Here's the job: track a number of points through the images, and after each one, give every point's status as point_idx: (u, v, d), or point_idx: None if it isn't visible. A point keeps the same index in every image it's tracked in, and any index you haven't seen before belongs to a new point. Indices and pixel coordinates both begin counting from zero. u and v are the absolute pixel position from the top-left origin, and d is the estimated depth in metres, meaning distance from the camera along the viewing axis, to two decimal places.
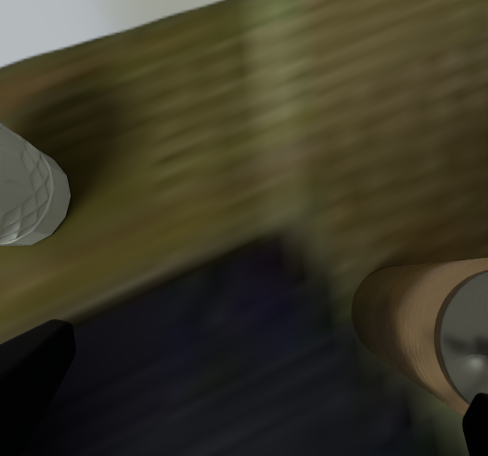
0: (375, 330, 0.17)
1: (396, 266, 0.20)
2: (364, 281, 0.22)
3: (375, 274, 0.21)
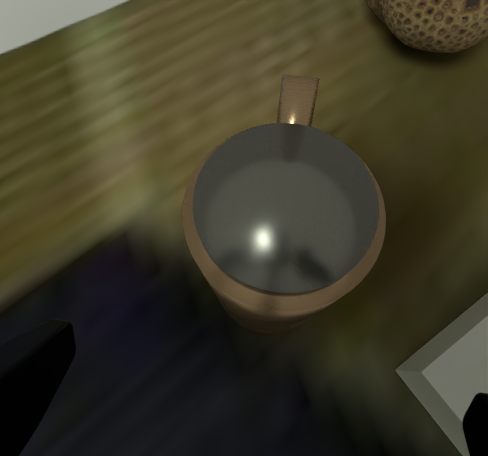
0: None
1: None
2: None
3: None
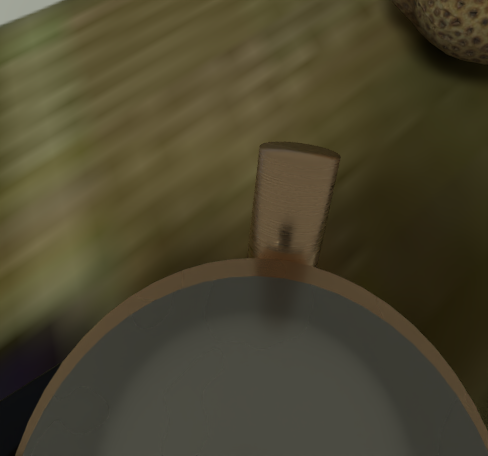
0: None
1: None
2: None
3: None
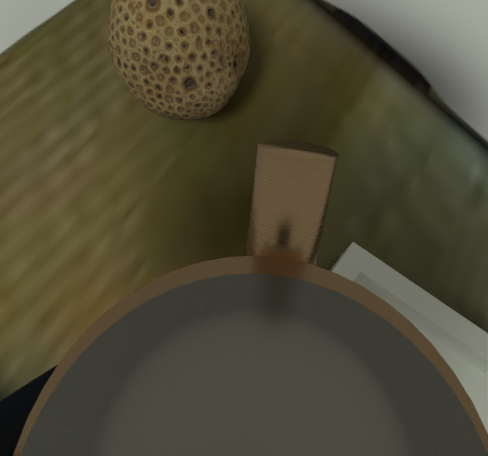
0: None
1: None
2: None
3: None
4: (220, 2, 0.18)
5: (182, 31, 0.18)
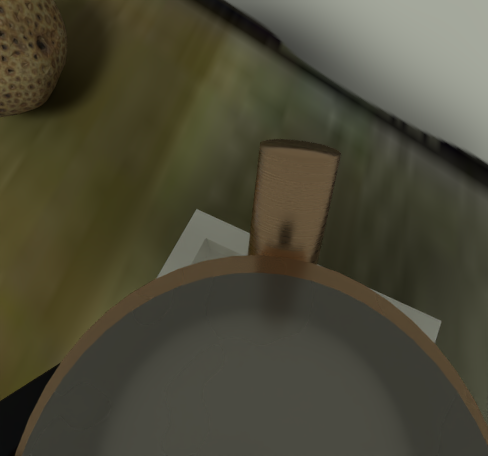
0: None
1: None
2: None
3: None
4: None
5: None
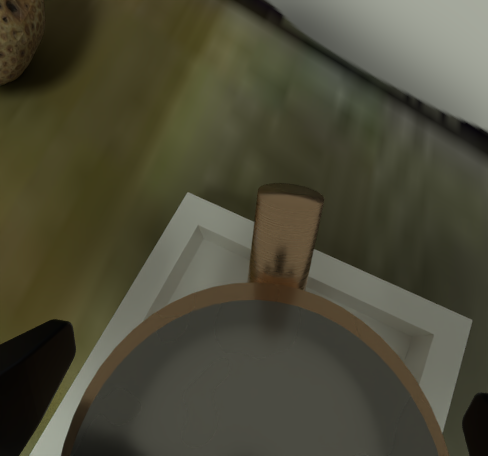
0: None
1: None
2: None
3: None
4: None
5: None
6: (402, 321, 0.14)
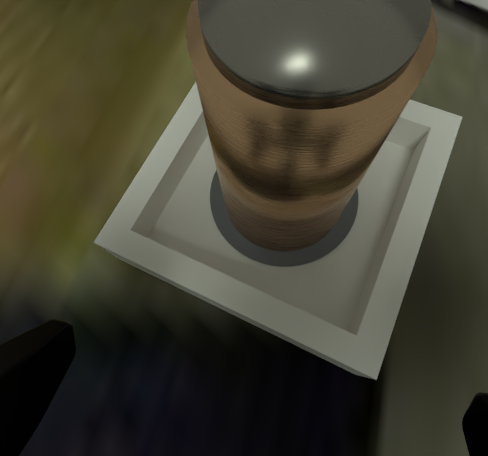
0: (218, 173, 0.13)
1: None
2: None
3: None
4: None
5: None
6: (404, 122, 0.17)
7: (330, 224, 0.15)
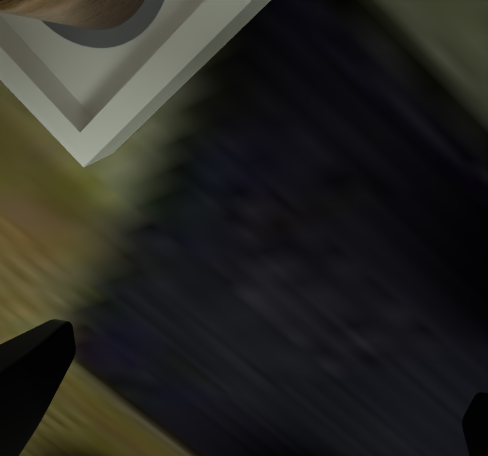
0: (28, 16, 0.12)
1: None
2: None
3: None
4: None
5: None
6: None
7: None
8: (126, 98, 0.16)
